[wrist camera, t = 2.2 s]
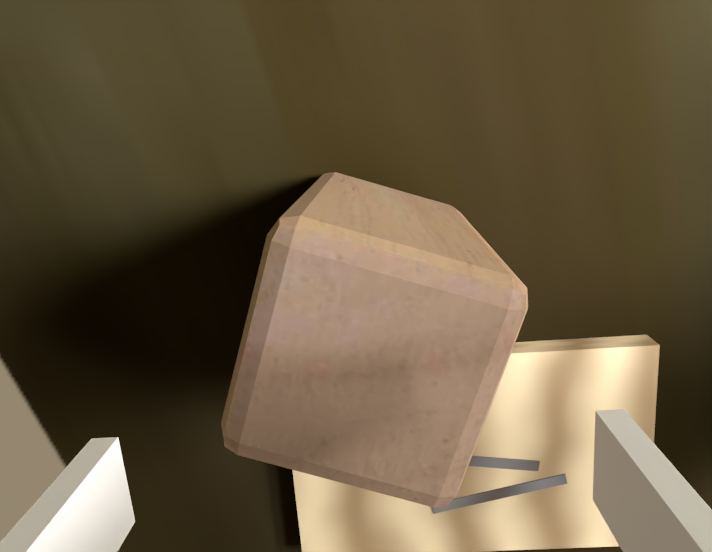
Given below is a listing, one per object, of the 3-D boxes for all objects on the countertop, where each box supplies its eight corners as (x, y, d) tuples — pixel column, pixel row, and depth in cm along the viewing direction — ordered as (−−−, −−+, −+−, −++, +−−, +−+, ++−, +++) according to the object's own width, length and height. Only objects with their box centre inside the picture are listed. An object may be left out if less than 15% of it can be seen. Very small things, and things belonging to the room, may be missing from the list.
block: (420, 339, 42) (455, 524, 23) (286, 302, 42) (208, 458, 23) (464, 207, 40) (545, 290, 20) (322, 166, 39) (268, 212, 20)
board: (646, 334, 42) (660, 345, 40) (636, 527, 46) (648, 546, 44) (284, 355, 43) (279, 367, 41) (305, 540, 47) (302, 559, 45)
